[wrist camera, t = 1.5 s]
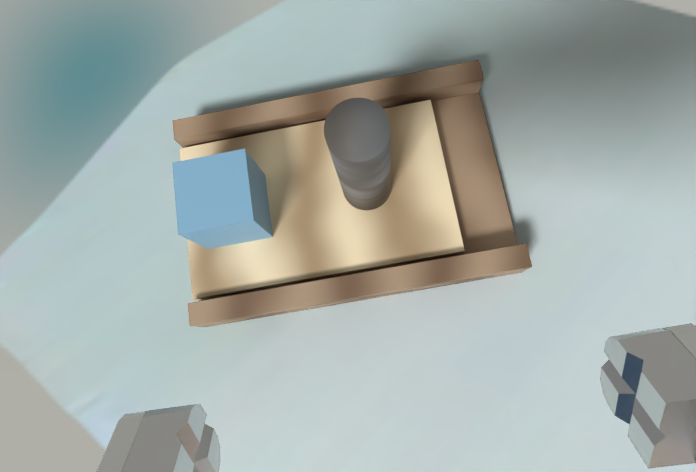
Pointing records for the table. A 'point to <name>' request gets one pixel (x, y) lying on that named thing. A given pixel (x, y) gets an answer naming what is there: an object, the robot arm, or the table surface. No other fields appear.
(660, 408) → the robot arm
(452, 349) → the table surface
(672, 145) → the table surface
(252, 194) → the cube
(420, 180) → the wooden board with post
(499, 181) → the track
